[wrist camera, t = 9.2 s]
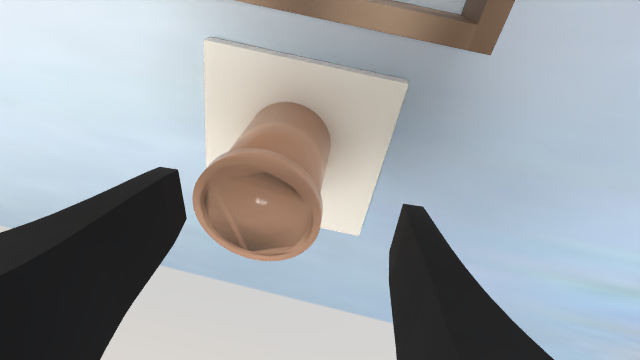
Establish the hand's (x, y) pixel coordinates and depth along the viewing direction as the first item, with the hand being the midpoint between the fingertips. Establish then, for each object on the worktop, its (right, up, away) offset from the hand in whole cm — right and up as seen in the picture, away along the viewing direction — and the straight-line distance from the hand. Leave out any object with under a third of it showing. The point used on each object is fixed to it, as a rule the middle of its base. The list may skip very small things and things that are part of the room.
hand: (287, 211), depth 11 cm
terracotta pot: (-1, +3, +9) cm, 10 cm away
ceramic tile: (-1, +3, +10) cm, 11 cm away
